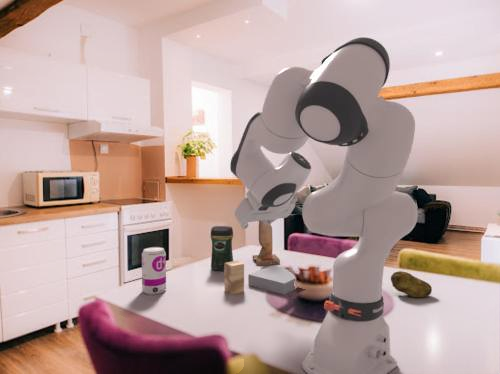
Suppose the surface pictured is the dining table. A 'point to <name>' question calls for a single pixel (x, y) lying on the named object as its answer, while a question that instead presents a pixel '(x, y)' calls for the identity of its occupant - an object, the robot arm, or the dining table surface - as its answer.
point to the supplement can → (153, 270)
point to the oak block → (234, 277)
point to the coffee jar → (221, 247)
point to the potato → (410, 284)
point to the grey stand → (273, 279)
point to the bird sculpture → (266, 246)
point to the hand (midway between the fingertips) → (255, 225)
